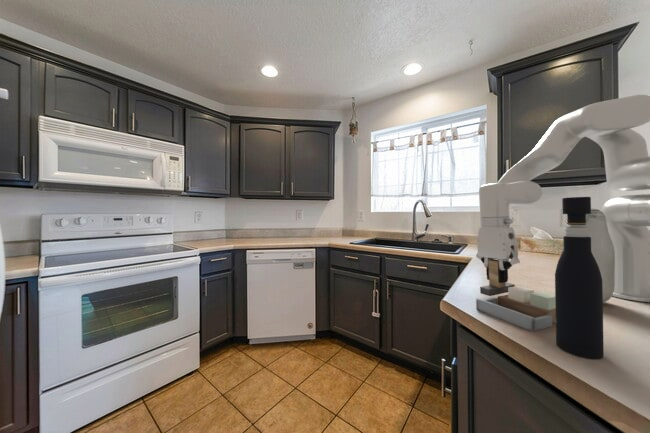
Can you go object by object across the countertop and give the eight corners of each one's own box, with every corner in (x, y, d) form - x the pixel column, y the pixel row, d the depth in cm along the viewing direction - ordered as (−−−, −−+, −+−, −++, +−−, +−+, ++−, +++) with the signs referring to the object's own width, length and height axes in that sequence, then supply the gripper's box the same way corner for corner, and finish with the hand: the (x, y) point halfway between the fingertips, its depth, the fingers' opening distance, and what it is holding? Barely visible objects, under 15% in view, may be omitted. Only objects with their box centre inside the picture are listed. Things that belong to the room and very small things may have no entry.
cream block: (518, 296, 69) (517, 285, 69) (533, 300, 65) (533, 289, 65) (508, 298, 68) (508, 287, 68) (523, 302, 64) (523, 291, 64)
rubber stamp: (505, 288, 79) (503, 258, 79) (514, 290, 76) (513, 259, 76) (480, 293, 76) (479, 261, 76) (489, 296, 73) (488, 263, 73)
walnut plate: (526, 301, 73) (525, 291, 73) (577, 316, 62) (577, 305, 62) (497, 306, 69) (497, 296, 69) (547, 324, 58) (547, 312, 58)
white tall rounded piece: (568, 293, 79) (567, 208, 79) (617, 303, 70) (616, 207, 70) (560, 300, 73) (558, 208, 73) (612, 311, 65) (610, 207, 65)
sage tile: (540, 302, 64) (540, 291, 64) (559, 308, 60) (558, 296, 60) (530, 304, 63) (530, 293, 63) (548, 310, 59) (548, 298, 59)
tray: (494, 305, 70) (494, 295, 70) (552, 326, 57) (552, 313, 57) (476, 309, 68) (476, 298, 68) (532, 331, 55) (532, 318, 55)
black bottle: (614, 361, 44) (611, 195, 43) (572, 357, 45) (569, 196, 45) (584, 342, 50) (581, 197, 50) (548, 340, 51) (545, 199, 51)
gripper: (532, 222, 69) (534, 286, 69) (479, 221, 85) (481, 273, 85) (513, 223, 67) (516, 289, 67) (463, 223, 83) (465, 276, 83)
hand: (497, 280), depth 76 cm, fingers closed on rubber stamp, 3 cm apart
